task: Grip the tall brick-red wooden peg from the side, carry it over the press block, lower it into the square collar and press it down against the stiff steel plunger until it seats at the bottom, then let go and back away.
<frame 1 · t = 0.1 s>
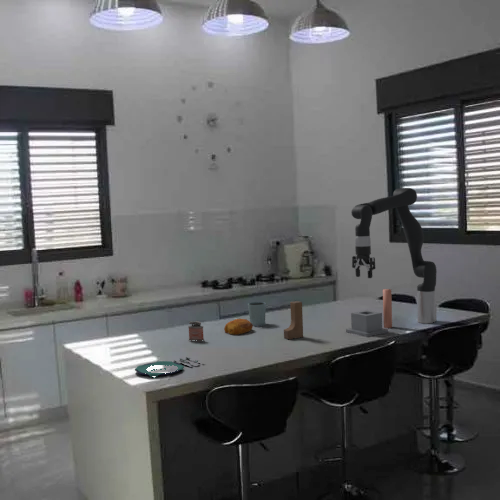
hand: (363, 277, 318), 29 cm above the countertop, tool pointing down, fingers open, 8 cm apart
bread loaf: (238, 332, 341), on the countertop
drinking glass: (257, 324, 357), on the countertop
wooden block: (293, 338, 321), on the countertop
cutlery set: (169, 370, 273), on the countertop
plunger: (366, 321, 326), point 6 cm above the countertop, slide at 0.0 cm
peg: (387, 327, 336), on the countertop
press block: (366, 332, 327), on the countertop
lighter: (196, 341, 324), on the countertop
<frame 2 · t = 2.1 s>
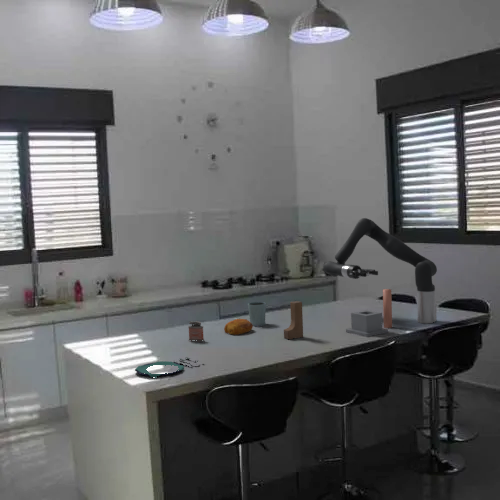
hand: (371, 274, 343), 27 cm above the countertop, tool horizontal, fingers open, 8 cm apart
nothing on the countertop moved.
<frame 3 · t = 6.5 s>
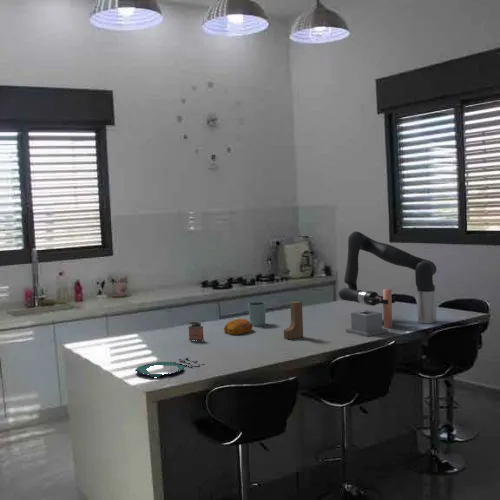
hand: (391, 301, 333), 14 cm above the countertop, tool horizontal, fingers closed on peg, 4 cm apart
peg: (387, 327, 336), on the countertop, touching gripper
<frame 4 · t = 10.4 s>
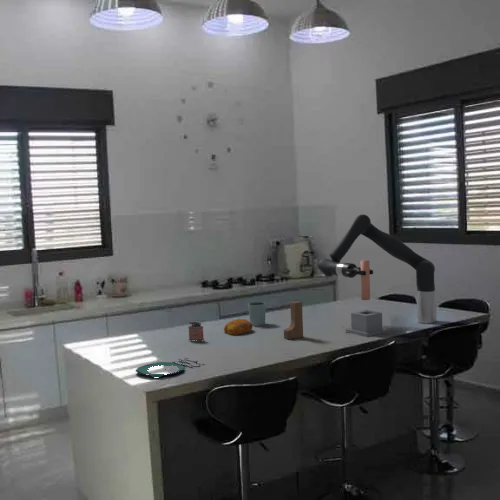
hand: (368, 272, 322), 31 cm above the countertop, tool horizontal, fingers closed on peg, 4 cm apart
peg: (365, 299, 325), point 17 cm above the countertop, touching gripper
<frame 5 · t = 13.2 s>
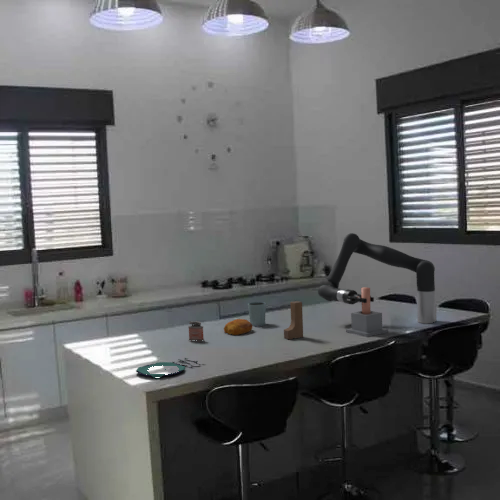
hand: (369, 300, 323), 17 cm above the countertop, tool horizontal, fingers closed on peg, 4 cm apart
plunger: (366, 327, 326), point 2 cm above the countertop, slide at 3.1 cm, touching peg
peg: (366, 326, 327), point 3 cm above the countertop, touching gripper, plunger
when the fingers open (17 cm above the countertop, at t = 14.4 s): peg stays where it is, resting on plunger.
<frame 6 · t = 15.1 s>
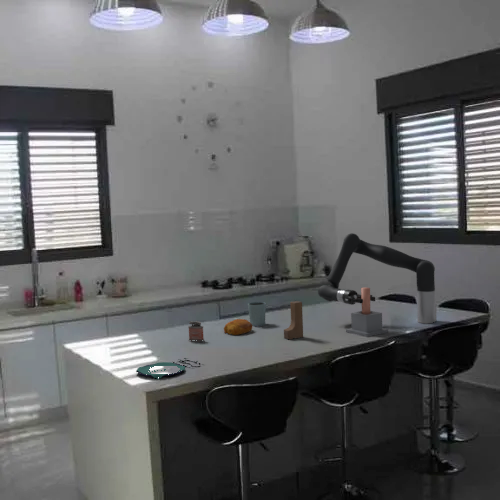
hand: (368, 300, 324), 17 cm above the countertop, tool horizontal, fingers open, 8 cm apart
peg: (366, 326, 327), point 3 cm above the countertop, touching plunger
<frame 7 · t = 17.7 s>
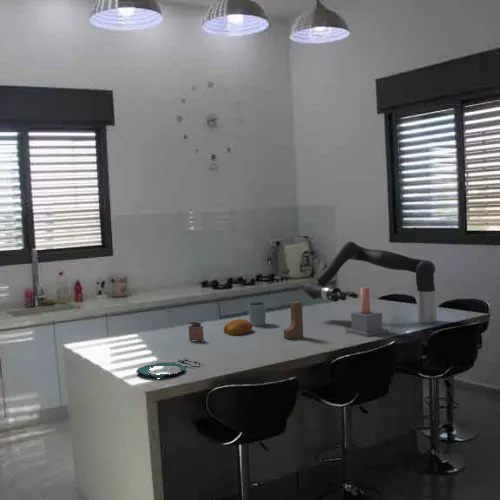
hand: (351, 297, 334), 17 cm above the countertop, tool horizontal, fingers open, 8 cm apart
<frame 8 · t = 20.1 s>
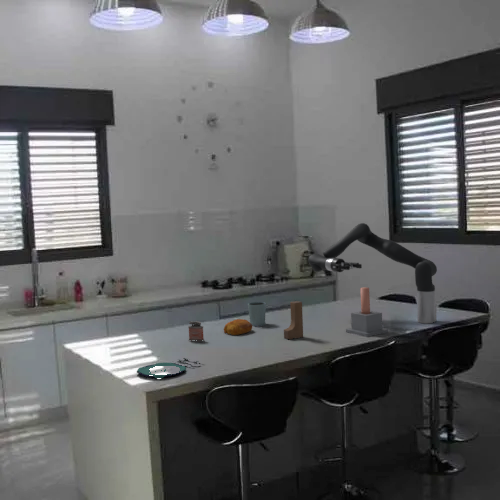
hand: (355, 267, 339), 32 cm above the countertop, tool horizontal, fingers open, 8 cm apart
at the end: plunger slide at 3.2 cm; peg 0.2 cm off-centre on the press block, point 2.8 cm above the press block's base; peg tilted 2° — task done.
